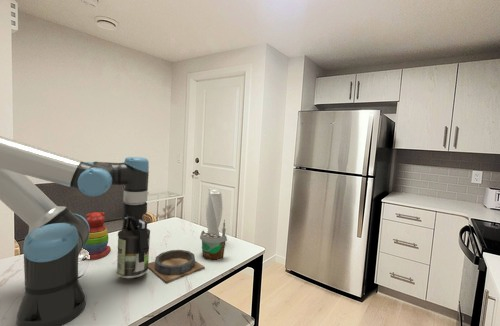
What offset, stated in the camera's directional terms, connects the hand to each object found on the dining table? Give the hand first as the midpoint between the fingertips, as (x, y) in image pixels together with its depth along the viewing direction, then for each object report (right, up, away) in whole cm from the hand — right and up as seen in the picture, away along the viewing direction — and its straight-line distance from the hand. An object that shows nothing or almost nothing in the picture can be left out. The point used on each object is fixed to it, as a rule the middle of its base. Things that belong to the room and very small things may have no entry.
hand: (133, 264), depth 92 cm
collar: (+12, -4, +9) cm, 16 cm away
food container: (+24, -4, +18) cm, 30 cm away
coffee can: (0, -3, 0) cm, 3 cm away
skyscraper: (+24, -4, +31) cm, 39 cm away
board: (+12, -4, +9) cm, 16 cm away
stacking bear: (-22, -2, +16) cm, 28 cm away
